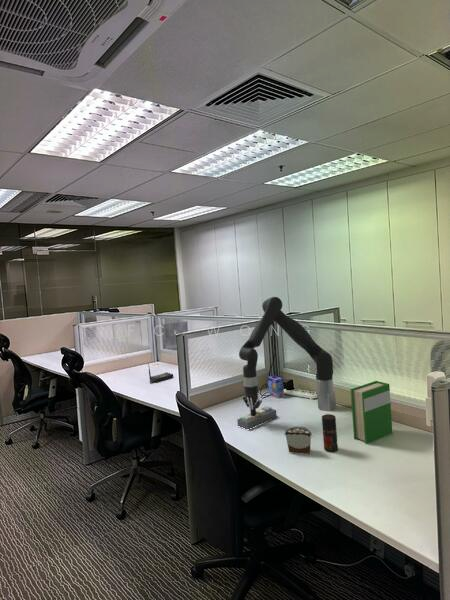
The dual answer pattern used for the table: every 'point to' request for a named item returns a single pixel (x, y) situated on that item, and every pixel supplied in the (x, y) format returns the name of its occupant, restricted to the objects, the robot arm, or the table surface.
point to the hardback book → (371, 411)
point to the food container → (298, 439)
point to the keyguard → (257, 420)
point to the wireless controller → (160, 377)
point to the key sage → (247, 418)
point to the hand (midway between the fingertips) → (253, 415)
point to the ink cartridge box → (275, 386)
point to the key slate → (267, 409)
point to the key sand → (260, 412)
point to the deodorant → (329, 433)
